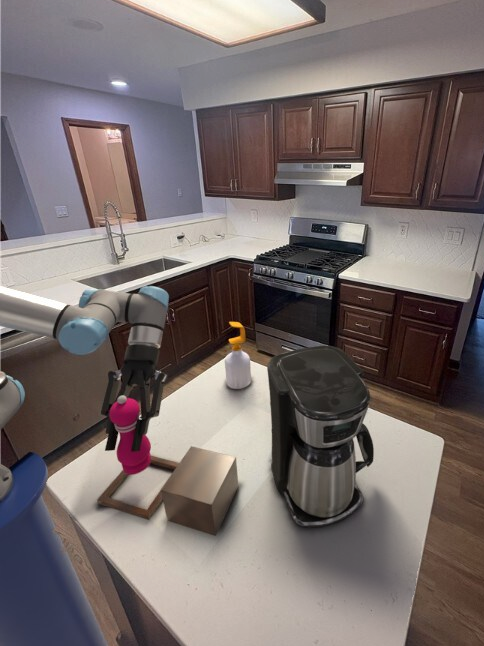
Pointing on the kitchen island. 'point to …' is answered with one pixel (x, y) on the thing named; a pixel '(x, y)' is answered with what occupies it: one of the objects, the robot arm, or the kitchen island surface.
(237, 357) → the soap bottle
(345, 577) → the kitchen island surface
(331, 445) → the coffee maker
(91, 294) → the robot arm
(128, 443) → the pepper mill
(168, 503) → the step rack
